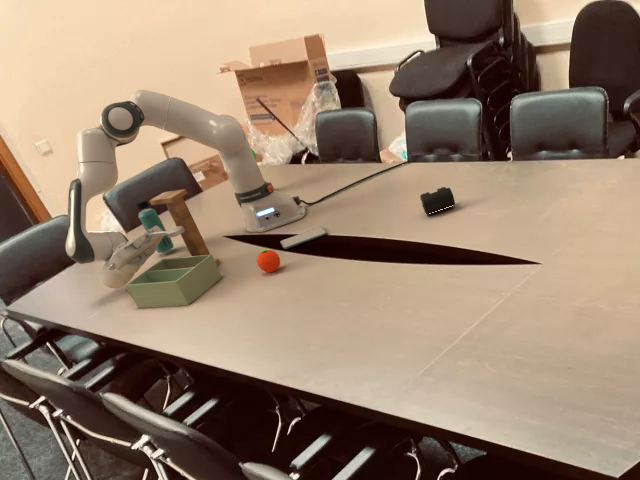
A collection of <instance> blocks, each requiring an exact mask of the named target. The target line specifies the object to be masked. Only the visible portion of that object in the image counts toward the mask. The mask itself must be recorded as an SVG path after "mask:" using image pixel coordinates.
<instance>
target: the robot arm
mask: <svg viewBox="0 0 640 480" xmlns="http://www.w3.org/2000/svg"><path fill="white" fill-rule="evenodd" d="M99 121H100V123H99V125H98V126H95V127H85V128H83V129H81V130H79V131H78V133H77V134H76V160H77V173H76V177H75V179H73V180H72V181H70V183H69V184H70V185H69V187H68V196H67V199H68V200H67V227H66V228H67V229H66V230H67V232H66V237H65V242H64V244H65V245H64V247H65V248H64V249H65V253H66V255H67V256H68V257H69V258H70V259H71V260H73V261H74V262H75V263H77V264H80V265H83V264H91V263H100V262H102V268H101V270H100V272H99V277H98V279H99V281H100V283H101V284H102V285H104V286H105V287H107V288H110V289H121V288H123V287H126V286H125V285H127V284H128V283H130V282H131V281H132V280H133V278H134V276H135V274H136V273H137V272H138V271H140V269H141V268H142V267H143V265H145V263H146V262H147V260H148V259H150V257H152V255H154V253H156V252H157V251H156V249H155V248H156V247H157V246H158V244H159V243H160V241H161V240H162V238H163V237H164V236H156V237H148V236H147V235H146V234H145V233H152V232H162V231H163V230H162V229H161V228H159V227H158V226H154V227H153V228H151V229H149V230H148V231H146V230H145V232H143V233H142V234H140V235H139V236H137V237H136V238H134V239H132V240H129V239H128V238H127V237H126V235H125V234H123V232H120V231H119V230H102V231H88V230H87V206H88V203H89V202H90V200H92V198H94V197H96V196H99V195H102V194H105V193H107V192H109V191H110V190H112V189H113V188H114V187H115V186H116V184H117V183H118V179H119V169H118V162H117V157H116V149H117V148H118V147H122V146H125V145H128V144H130V143H133V142H134V141H135V140H136V138H137V137H138V135H139V132H140V128H141V127H144V126H148V127H153V128H157V129H160V130H163V131H166V132H168V133H171V134H175V135H177V136H181V137H183V138H187V139H189V140H192V141H194V142H196V143H199V144H201V145H203V146H206V147H209V148H210V149H213V150H216V151H217V154H218V156H219V158H220V161H221V163H222V165H223V168H224V171H225V173H226V175H227V178H228V179H229V183H230V184H231V186H232V188H233V190H234V193H233V194H234V197H235V199H236V201H237V204H238V206H239V207H240V208H241V211H242V215H243V218H244V222H245V227H246V228H245V229H246V231H247V232H251V233H253V232H255V233H256V232H258V233H265V232H269V231H270V230H273V229H277V228H279V227H281V226H284V225H287V224H289V223H293V222H295V221H298V220H301V219H302V218H304V216H305V215H306V213H307V210H306V208H305V206H303V205H301V204H302V203H303V204H304V205H306V206H312V205H315V204H319V203H321V202H322V201H324V200H326V199H328V198H331V197H332V196H334V195H337V194H338V193H340V192H342V191H344V190H346V189H348V188H350V187H353V186H355V185H357V184H359V183H362V182H364V181H366V180H368V179H371V178H373V177H376V176H378V175H380V174H383V173H385V172H388V171H390V170H393V169H396V168H398V167H401V166H403V165H402V164H404V165H406V164H410V163H411V162H412V160H410V159H409V160H406V161H403V162H401V163H399V164H396V165H393V166H390V167H388V168H385V169H382V170H380V171H377V172H375V173H373V174H370V175H368V176H365V177H363V178H361V179H359V180H356V181H354V182H352V183H350V184H348V185H345V186H344V187H341V188H339V189H337V190H336V191H334V192H331V193H329V194H327V195H325V196H323V197H321V198H319V199H318V200H315V201H313V202H307V201H305V200H304V199H300V197H299V195H296V196H291V195H289V194H286V193H283V192H280V191H277V190H275V189H274V186H273V184H272V182H271V181H269V182H268V181H266V180H265V179H264V177H263V174H262V172H261V169H260V167H259V165H258V162H257V159H256V160H255V157H254V155H253V153H252V151H251V149H252V148H251V146H250V144H249V141H248V138H247V136H246V132H245V130H244V128H243V126H242V125H241V123H240V122H239V121H238V120H237V118H235V117H234V116H232V115H229V114H216V113H213V112H211V111H210V110H207V109H204V108H203V107H200V106H197V105H195V104H193V103H189V102H187V101H184V100H181V99H178V98H176V97H173V96H170V95H167V94H164V93H160V92H156V91H152V90H145V89H137V90H136V91H134V92H133V93H132V95H131V96H130V98H129V100H125V101H119V102H118V101H117V102H113V103H110V104H109V105H106V106H105V107H104V108H103V109H102V111H101V115H100V120H99Z"/></svg>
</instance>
